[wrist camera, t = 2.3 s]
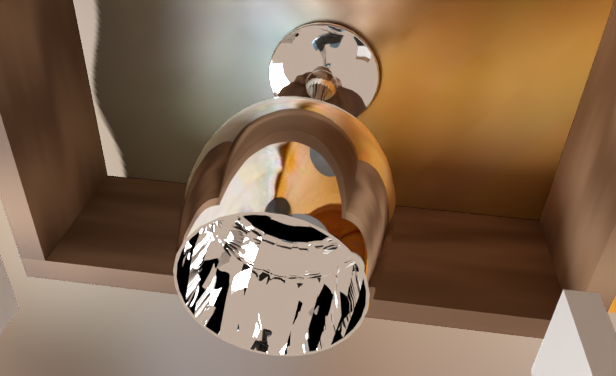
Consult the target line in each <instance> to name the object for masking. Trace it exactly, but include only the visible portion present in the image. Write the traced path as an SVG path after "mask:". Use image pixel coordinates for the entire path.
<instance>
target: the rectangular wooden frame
mask: <svg viewBox="0 0 616 376" xmlns="http://www.w3.org/2000/svg"><path fill="white" fill-rule="evenodd" d="M186 185H187V184H183V183H173V182H164V181H154V180H144V179H135V178H125V177H116V176H107V171H106V166H105V160H104V156H103V150H102V145H101V140H100V135H99V130H98V125H97V120H96V115H95V110H94V105H93V100H92V95H91V90H90V85H89V80H88V74H87V69H86V64H85V60H84V55H83V49H82V44H81V39H80V34H79V29H78V24H77V19H76V14H75V9H74V4H73V0H0V198H1V200H2V204H3V206H4V210H5V212H6V216H7V219H8V221H9V224H10V228H11V230H12V233H13V236H14V239H15V242H16V245H17V248H18V251H19V254H20V257H21V260H22V263H23V266H24V269H25V272H26V275H27V276H28V277H36V278H45V279H53V280H62V281H70V282H78V283H86V284H95V285H103V286H111V287H120V288H127V289H136V290H144V291H152V292H160V293H169V294H177V295H178V293H177V290H176V288H175V282H174V274H173V265H174V253H175V241H176V234H177V228H178V223H179V217H180V211H181V205H182V200H183V196H184V193H185V189H186ZM563 289H565V290H574V291H583V292H592V293H600V295H601V298H602V300H603V303H604V305H605V308H606V310H607V312H608V310H609V308H610V306H611V304H612V302H613V300H614V297H615V295H616V0H615V1H614V4H613V7H612V9H611V12H610V15H609V18H608V21H607V24H606V27H605V30H604V33H603V36H602V39H601V42H600V45H599V47H598V50H597V53H596V56H595V59H594V62H593V65H592V68H591V71H590V74H589V77H588V80H587V83H586V85H585V88H584V91H583V94H582V97H581V100H580V103H579V106H578V109H577V112H576V115H575V118H574V121H573V123H572V126H571V129H570V132H569V135H568V138H567V141H566V144H565V147H564V150H563V153H562V156H561V159H560V161H559V164H558V167H557V170H556V173H555V176H554V179H553V182H552V185H551V188H550V191H549V194H548V196H547V199H546V202H545V205H544V208H543V211H542V214H541V217H540V220H539V221H537V220H527V219H517V218H508V217H498V216H489V215H479V214H470V213H460V212H450V211H441V210H431V209H422V208H412V207H403V206H396V213H395V221H394V229H393V236H392V242H391V247H390V251H389V255H388V258H387V262H386V265H385V269H384V271H383V274H382V277H381V279H380V282H379V285H378V287H377V290H376V293H375V295H374V298H373V300H372V302H371V305H370V307H369V309H368V311H367V313H366V315H365V317H368V318H376V319H384V320H393V321H402V322H409V323H418V324H426V325H434V326H442V327H451V328H459V329H467V330H475V331H484V332H493V333H500V334H509V335H517V336H525V337H534V338H542V339H544V336H545V334H546V331H547V329H548V326H549V324H550V321H551V319H552V316H553V314H554V311H555V309H556V306H557V304H558V301H559V299H560V296H561V294H562V291H563Z"/></svg>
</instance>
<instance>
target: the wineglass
mask: <svg viewBox="0 0 616 376" xmlns="http://www.w3.org/2000/svg"><path fill="white" fill-rule="evenodd" d="M379 79H380V73H379V66H378V62H377V60H376V57H375V55H374V53H373V50H372V49H371V48H370V46H369V45H368V44H367V43H366V41H365V40H364V39H363V38H361V37H360V36H359V35H358V34H356V33H355V32H354V31H352V30H350V29H348V28H346V27H344V26H341V25H337V24H333V23H323V22H321V23H311V24H307V25H303V26H301V27H298V28H296V29H294V30H292V31H291V32H290V33H288V34H287V35H286V36H285V37H283V38H282V40H281V41H280V42H279V43H278V44H277V46H276V48H275V49H274V51H273V53H272V56H271V59H270V63H269V82H270V86H271V89H272V92H273V94H274V96H275V98H271V99H266V100H263V101H260V102H257V103H255V104H252V105H250V106H248V107H246V108H244V109H242V110H241V111H239V112H238V113H236V114H235V115H234V116H232V117H231V118H229V119H228V120H227V121H226V122H225V123H224V124H223V125H222V126H221V127H220V128H219V129H218V130H217V131H216V132H215V133H214V135H213V136H212V137H211V138H210V140H209V141H208V142H207V144H206V145H205V146H204V148H203V150H202V151H201V153H200V155H199V157H198V159H197V161H196V162H195V165H194V167H193V170H192V172H191V174H190V177H189V179H188V182H187V185H186V189H185V193H184V196H183V200H182V205H181V211H180V217H179V223H178V228H177V234H176V241H175V253H174V265H173V274H174V282H175V288H176V290H177V293H178V295H179V297H180V300H181V302H182V304H183V305H184V307H185V308H186V310H187V311H188V312H189V314H190V315H191V316H192V317H193V318H194V319H195V320H196V321H197V322H198V323H199V324H200V325H201V326H202V327H204V328H205V329H206V330H208V331H209V332H210V333H212V334H213V335H215V336H217V337H218V338H220V339H222V340H223V341H225V342H227V343H230V344H232V345H234V346H237V347H239V348H242V349H245V350H249V351H252V352H256V353H260V354H268V355H274V356H299V355H307V354H313V353H317V352H320V351H323V350H326V349H329V348H332V347H334V346H335V345H337V344H339V343H340V342H342V341H344V340H345V339H347V338H348V337H349V336H350V335H351V334H352V333H353V332H354V331H355V330H356V329H357V328H358V327H359V326H360V324H361V323H362V321H363V319H364V317H365V315H366V313H367V311H368V309H369V307H370V305H371V302H372V300H373V298H374V295H375V293H376V290H377V287H378V285H379V282H380V279H381V277H382V274H383V271H384V269H385V265H386V262H387V258H388V255H389V251H390V247H391V242H392V236H393V229H394V221H395V213H396V196H395V189H394V184H393V179H392V174H391V170H390V166H389V163H388V161H387V158H386V155H385V153H384V152H383V150H382V148H381V146H380V145H379V143H378V141H377V140H376V138H375V137H374V136H373V134H372V133H371V132H370V131H369V130H368V129H367V127H366V126H365V125H364V124H363V123H362V122H361V121H359V120H358V119H357V117H358V116H360V115H361V114H362V113H363V112H364V111H365V110H366V109H367V108H368V107H369V106H370V104H371V103H372V101H373V100H374V98H375V96H376V93H377V91H378V86H379Z"/></svg>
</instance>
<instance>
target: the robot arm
mask: <svg viewBox="0 0 616 376" xmlns="http://www.w3.org/2000/svg"><path fill="white" fill-rule="evenodd" d="M18 309H19V307H18V304H17V301H16V298H15V295H14V292H13V290H12V287H11V284H10V281H9V278H8V275H7V272H6V269H5V267H4V264H3V261H2V258H1V255H0V334H1V333H2V331H3V330H4V328H5V327H6V326H7V324H8V323H9V321H10V320H11V319H12V317H13V316H14V315H15V313H16V312H17V310H18ZM531 374H532V376H616V332H615V330H614V327H613V325H612V322H611V320H610V318H609V315H608V313H607V310H606V308H605V305H604V303H603V300H602V298H601V295H600V293H592V292H583V291H574V290H565V289H563V291H562V294H561V296H560V299H559V301H558V304H557V306H556V309H555V311H554V314H553V316H552V319H551V321H550V324H549V326H548V329H547V331H546V334H545V336H544V339H543V341H542V344H541V346H540V349H539V351H538V354H537V356H536V359H535V361H534V364H533V366H532V369H531Z"/></svg>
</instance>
